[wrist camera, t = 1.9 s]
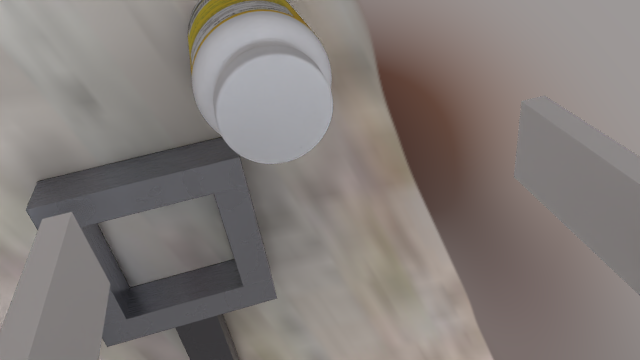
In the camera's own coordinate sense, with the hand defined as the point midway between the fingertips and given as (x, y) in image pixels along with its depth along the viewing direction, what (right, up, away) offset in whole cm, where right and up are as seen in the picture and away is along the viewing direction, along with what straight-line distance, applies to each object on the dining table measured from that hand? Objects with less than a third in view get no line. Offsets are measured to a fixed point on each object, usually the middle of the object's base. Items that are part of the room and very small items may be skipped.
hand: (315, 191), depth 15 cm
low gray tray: (-10, -7, +23) cm, 25 cm away
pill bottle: (-4, +9, +14) cm, 17 cm away
